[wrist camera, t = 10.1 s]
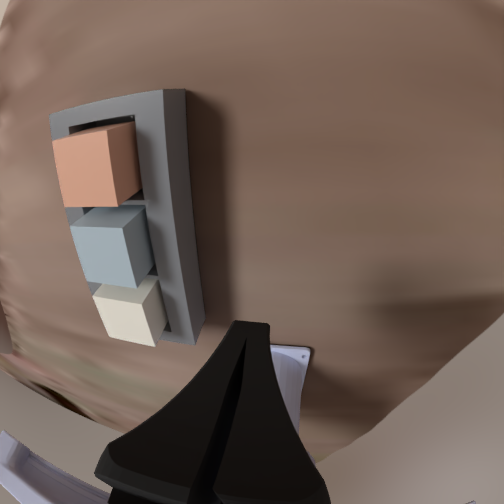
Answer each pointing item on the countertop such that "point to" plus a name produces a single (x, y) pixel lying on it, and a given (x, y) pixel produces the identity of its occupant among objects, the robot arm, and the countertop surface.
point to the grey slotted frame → (155, 195)
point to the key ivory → (133, 311)
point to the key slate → (114, 245)
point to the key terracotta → (98, 165)
